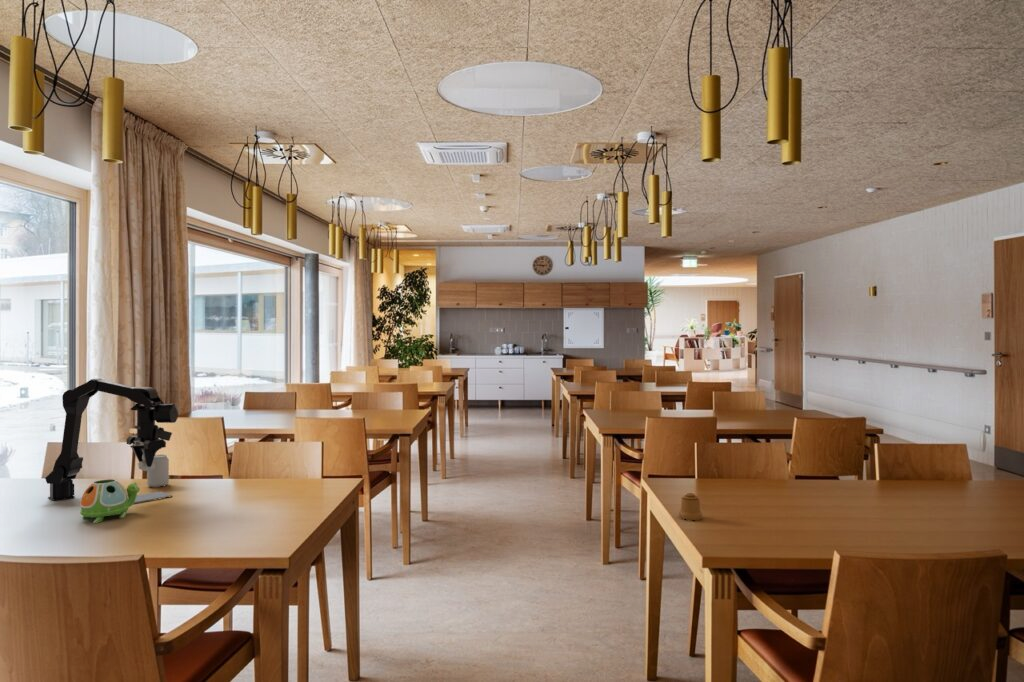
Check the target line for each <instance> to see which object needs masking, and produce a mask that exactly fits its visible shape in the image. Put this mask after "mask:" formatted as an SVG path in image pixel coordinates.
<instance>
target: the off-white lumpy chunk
mask: <svg viewBox="0 0 1024 682" xmlns="http://www.w3.org/2000/svg"><path fill="white" fill-rule="evenodd" d="M142 460H143V461H141V462H139V461H138V463H137V465H138V469H139V470H141V471H143V472H147V471H150V470H153V469H154V467H155V463H154V461H153V462H152V465H151V467H148V466H147V464H146V461H145V458H144V455H142Z"/></svg>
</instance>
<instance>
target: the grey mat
mask: <svg viewBox="0 0 1024 682" xmlns="http://www.w3.org/2000/svg"><path fill="white" fill-rule="evenodd" d="M169 496H172V497H173V495H172V494H168V493H166V492H164V491H154V492H148V493H143V494H137V495H136V499H135V502H134V503H133V504H132V505H135V503H137V504H141V503H140V502H142V503H146V502H145V501H148V502H151V501H150V500H153V501H155V500H154V499H159V498H164V497H169ZM164 499H165V498H164ZM159 500H160V499H159Z"/></svg>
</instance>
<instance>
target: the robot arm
mask: <svg viewBox="0 0 1024 682" xmlns="http://www.w3.org/2000/svg"><path fill="white" fill-rule="evenodd" d="M99 392H101V393H106V394H109V395H113V396H119V397H123V398H127V399H128V400H129V401H131V402H133V403H135V404H134V406H132V407H131V408H130V410H131V411H136V425H134V429H136V435H129V436H128V437H127V438H126V444H127V445H130V446H129V447H130V448H131V450H132V451H133V453H134V455H135V457H136V459H137V460H138V463H139V462H141V461H143V460H142V455H144V458H145V461H146V464H147V466H148V467H151V465H152V462H153V459H154V456H155V455H157V452H158V451H159V450H161V449H163V448H166V447H167V442H168V441H170V440H171V437H172V434H173V432H171V431H167V430H165V429H164V427H161V426H158V424H156V423H163V424H164V423H166V424H173V423H176V422H177V421H178V417H179V412H178V409H177V408H176V404H175V403H169V404H167V403H164V401H163V400H162V399H161V397H160V396H159V395H158V391H157V389H156V388H154V387H150V386H131V385H127V384H126V385H125V384H122V383H118V382H113V381H109V380H106V379H102V378H92V379H90V380H88V381H87V382H84V383H83V384H81V385H79V386H77V387H75V388H73V389H68V390H65V392H63V394H62V397H61V398H62V399H61V400H62V407H63V409H64V413H65V421H64V428H63V436H62V442H61V443H62V444H61V451H60V453H59V455H58V457H57V458H56V459H55V463H54V465H53V468H52V471H51V472H50V473H49V474H48V475H47V476H45V482H46V484H47V485H48V484H49V496H48V497H47V499H49V500H51V501H53V500H54V501H55V502H56V501H61V500H67V499H73V498H75V497H76V496H75V484H74V481H73V480H75V479H76V477H77V474H79V473H80V471H81V469H83V461H84V457H83V456H79V454H78V448H79V440H80V432H81V425H82V419H83V418H82V417H83V413H84V412H85V410H86V409H87V407H88V405H89V403H90V402H89V401H90V398H92V397H93V396H95V395H96V394H97V393H99ZM166 441H167V442H166Z"/></svg>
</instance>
